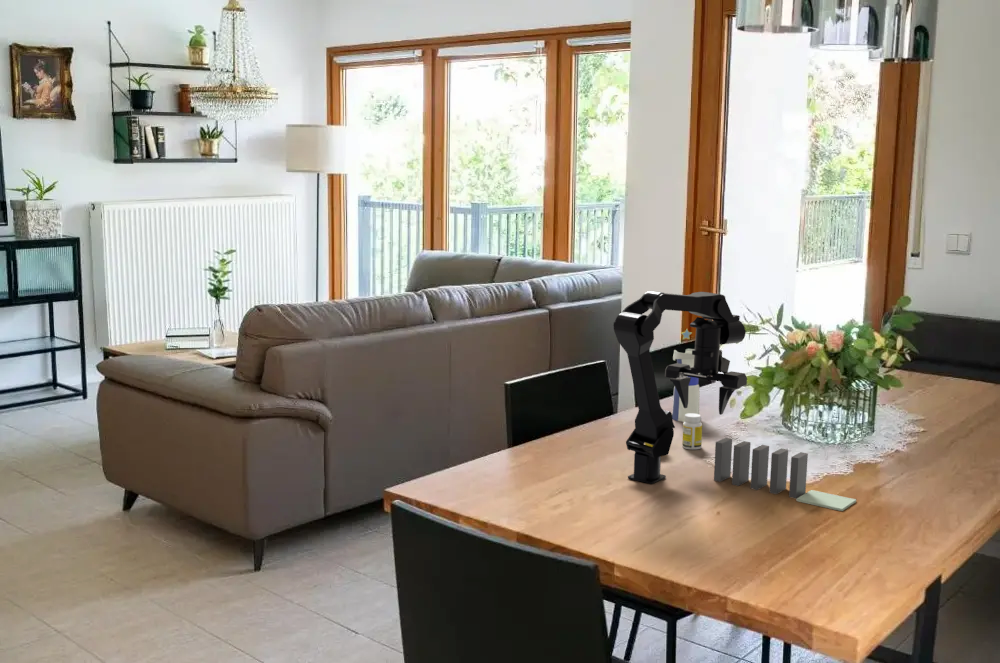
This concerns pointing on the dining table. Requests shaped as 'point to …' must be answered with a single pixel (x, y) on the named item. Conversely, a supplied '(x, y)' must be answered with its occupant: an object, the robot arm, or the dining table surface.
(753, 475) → the domino
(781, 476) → the domino
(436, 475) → the dining table surface
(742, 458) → the domino
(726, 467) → the domino
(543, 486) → the dining table surface
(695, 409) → the water bottle
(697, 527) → the dining table surface
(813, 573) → the dining table surface
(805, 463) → the domino
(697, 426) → the supplement bottle
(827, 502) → the pad
